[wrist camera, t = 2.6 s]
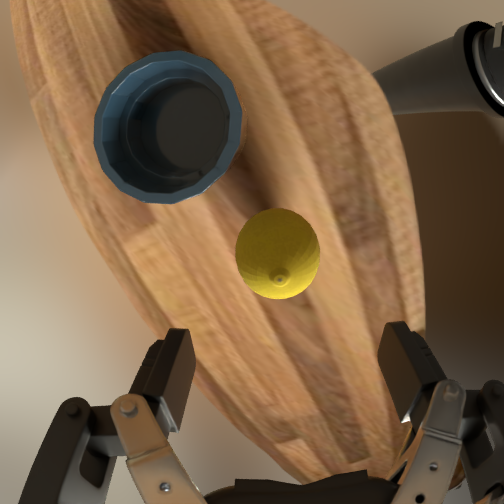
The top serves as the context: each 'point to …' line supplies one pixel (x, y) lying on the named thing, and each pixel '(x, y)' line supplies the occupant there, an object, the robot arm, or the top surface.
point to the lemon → (277, 253)
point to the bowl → (169, 127)
